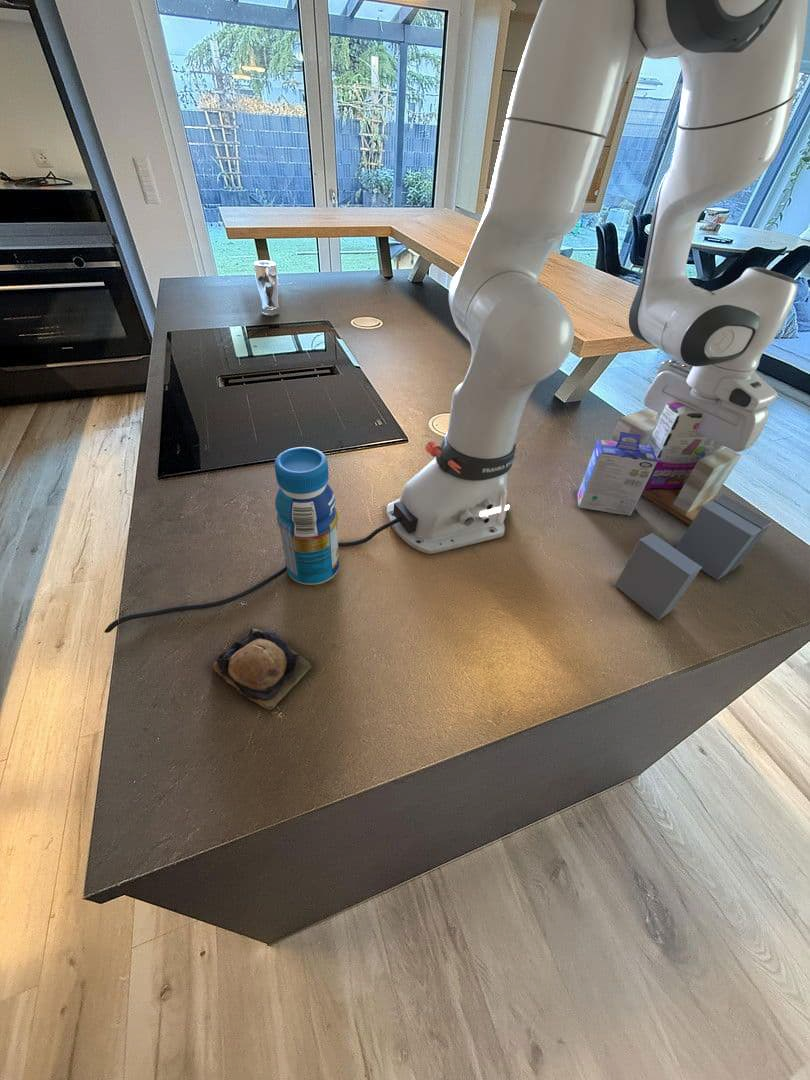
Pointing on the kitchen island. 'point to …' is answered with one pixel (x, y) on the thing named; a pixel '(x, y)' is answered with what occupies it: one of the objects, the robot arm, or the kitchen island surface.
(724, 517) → the grey blocks
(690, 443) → the candy bar box
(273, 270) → the beer glass
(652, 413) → the wooden bookend rack
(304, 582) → the beverage bottle
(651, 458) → the ink cartridge box
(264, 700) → the potato on dark dish
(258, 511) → the kitchen island surface
